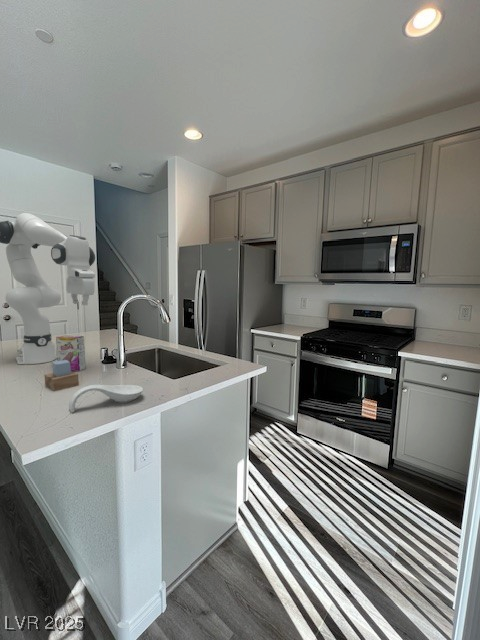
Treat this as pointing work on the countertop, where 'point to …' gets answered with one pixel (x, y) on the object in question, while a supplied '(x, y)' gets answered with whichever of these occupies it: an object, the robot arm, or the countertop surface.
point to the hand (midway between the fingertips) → (80, 304)
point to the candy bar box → (71, 351)
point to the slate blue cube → (61, 368)
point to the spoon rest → (110, 393)
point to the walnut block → (61, 381)
